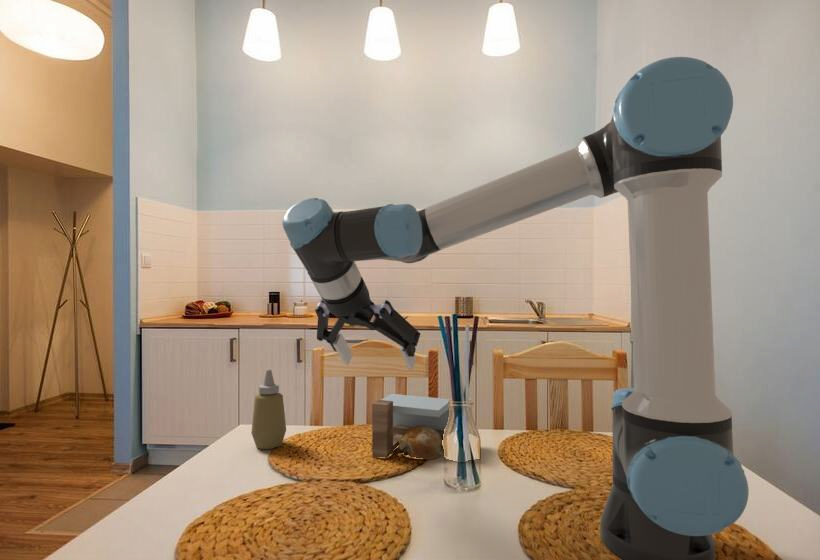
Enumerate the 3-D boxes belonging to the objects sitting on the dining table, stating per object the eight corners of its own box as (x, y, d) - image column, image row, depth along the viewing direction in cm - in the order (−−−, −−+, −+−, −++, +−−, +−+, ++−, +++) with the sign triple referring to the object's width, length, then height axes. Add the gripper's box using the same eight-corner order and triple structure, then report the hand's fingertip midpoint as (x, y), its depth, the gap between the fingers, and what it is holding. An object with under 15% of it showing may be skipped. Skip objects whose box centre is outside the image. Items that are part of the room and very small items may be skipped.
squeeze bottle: (243, 449, 112) (243, 372, 112) (264, 438, 120) (264, 366, 120) (274, 453, 110) (274, 374, 110) (292, 441, 117) (292, 368, 117)
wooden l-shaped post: (433, 466, 102) (432, 409, 102) (370, 457, 107) (370, 403, 107) (452, 445, 115) (452, 395, 115) (395, 437, 120) (395, 389, 120)
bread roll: (435, 478, 105) (451, 445, 105) (392, 457, 105) (408, 424, 105) (434, 461, 115) (448, 430, 115) (395, 442, 115) (409, 412, 115)
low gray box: (438, 457, 107) (438, 410, 107) (373, 448, 113) (373, 403, 113) (452, 442, 116) (452, 399, 116) (391, 435, 122) (391, 393, 122)
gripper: (417, 268, 77) (445, 349, 91) (287, 269, 87) (331, 343, 100) (404, 303, 72) (436, 383, 86) (268, 300, 82) (317, 373, 96)
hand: (380, 361), depth 93 cm, fingers open, 13 cm apart
